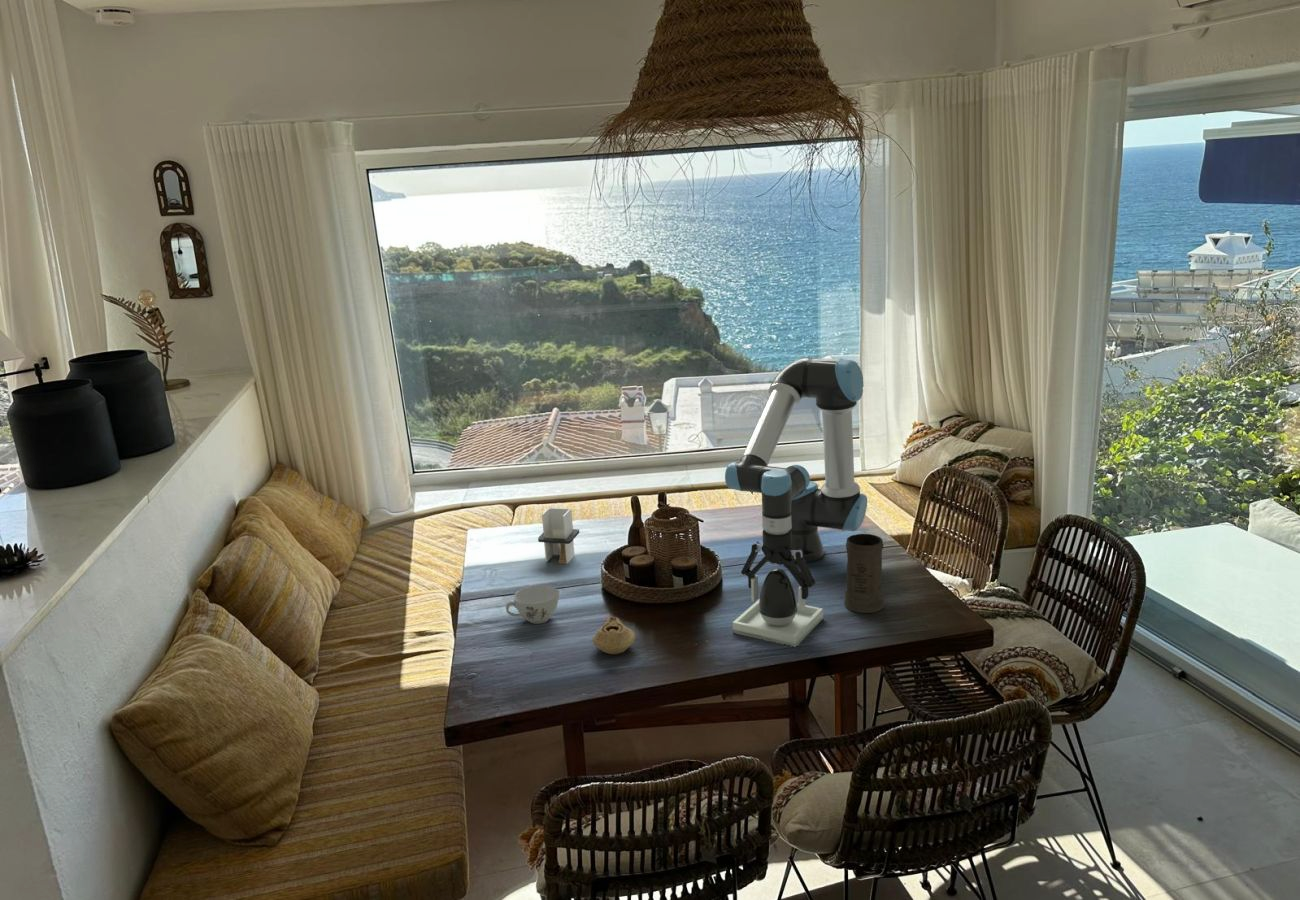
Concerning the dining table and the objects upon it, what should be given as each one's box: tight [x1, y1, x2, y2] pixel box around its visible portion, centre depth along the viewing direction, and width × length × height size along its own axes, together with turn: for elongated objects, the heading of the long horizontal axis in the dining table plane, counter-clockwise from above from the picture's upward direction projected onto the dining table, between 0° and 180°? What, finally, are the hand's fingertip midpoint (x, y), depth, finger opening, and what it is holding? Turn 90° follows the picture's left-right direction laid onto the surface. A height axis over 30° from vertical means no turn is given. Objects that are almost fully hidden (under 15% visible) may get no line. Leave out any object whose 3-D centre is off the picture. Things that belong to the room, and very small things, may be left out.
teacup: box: [505, 584, 560, 625], centre depth 262 cm, size 15×12×8 cm
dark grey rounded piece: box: [758, 568, 798, 626], centre depth 250 cm, size 10×10×15 cm
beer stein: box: [843, 533, 885, 614], centre depth 261 cm, size 15×11×20 cm
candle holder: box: [537, 507, 580, 564], centre depth 303 cm, size 25×24×16 cm
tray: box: [732, 598, 824, 648], centre depth 252 cm, size 18×18×3 cm
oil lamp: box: [592, 616, 636, 655], centre depth 244 cm, size 11×15×8 cm
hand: (778, 604), depth 251 cm, fingers open, 13 cm apart
